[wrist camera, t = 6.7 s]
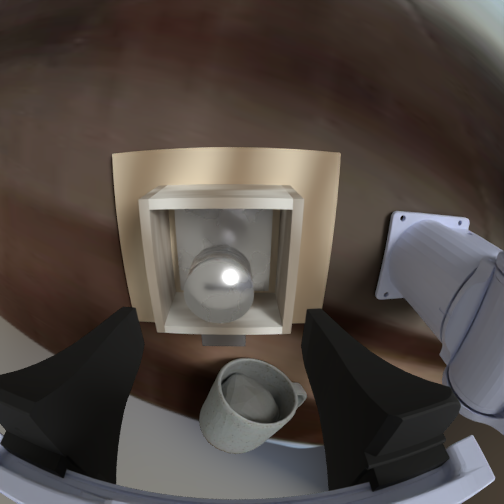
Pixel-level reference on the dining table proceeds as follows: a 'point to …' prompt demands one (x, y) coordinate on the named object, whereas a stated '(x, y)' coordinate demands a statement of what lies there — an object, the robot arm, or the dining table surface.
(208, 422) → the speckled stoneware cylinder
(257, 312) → the base
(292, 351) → the dining table surface
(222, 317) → the plunger
